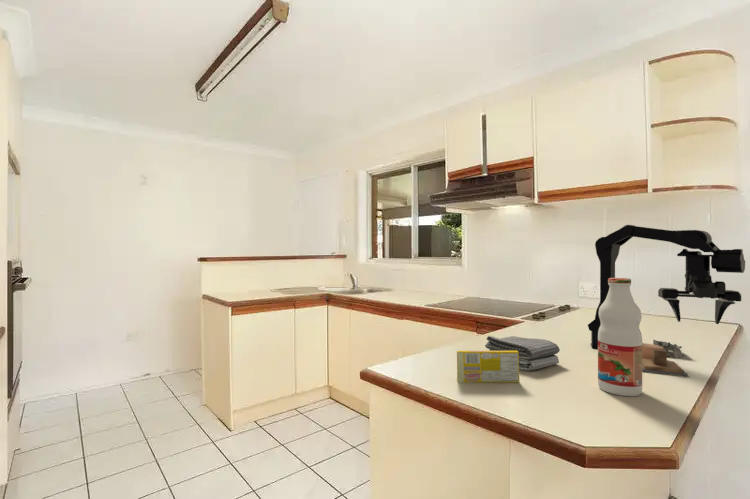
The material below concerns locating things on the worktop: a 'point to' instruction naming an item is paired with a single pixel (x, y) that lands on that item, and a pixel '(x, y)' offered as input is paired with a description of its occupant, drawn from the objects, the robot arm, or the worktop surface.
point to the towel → (527, 351)
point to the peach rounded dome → (648, 350)
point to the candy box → (488, 366)
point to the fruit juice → (620, 341)
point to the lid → (660, 362)
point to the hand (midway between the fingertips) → (697, 322)
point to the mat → (665, 372)
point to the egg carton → (670, 348)
